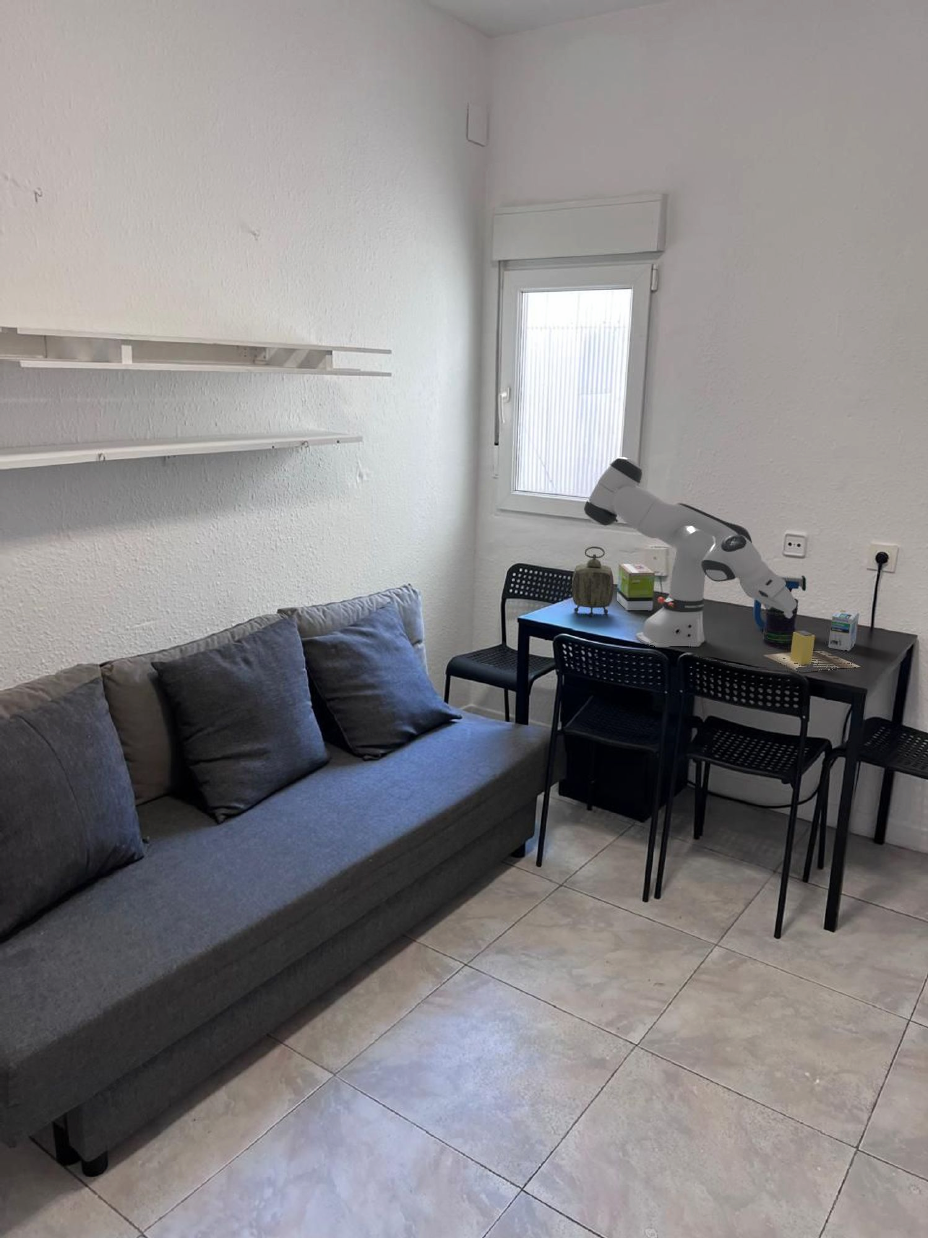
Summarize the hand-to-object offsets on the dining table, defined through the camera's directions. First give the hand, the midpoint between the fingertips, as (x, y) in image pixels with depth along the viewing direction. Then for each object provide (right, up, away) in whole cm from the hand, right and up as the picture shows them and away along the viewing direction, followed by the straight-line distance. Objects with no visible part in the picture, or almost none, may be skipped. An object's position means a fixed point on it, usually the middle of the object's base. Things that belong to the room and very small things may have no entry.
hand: (779, 611), depth 281 cm
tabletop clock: (-49, -1, +57) cm, 75 cm away
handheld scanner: (+13, -6, +43) cm, 45 cm away
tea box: (-30, +3, +72) cm, 78 cm away
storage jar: (+9, -10, +28) cm, 31 cm away
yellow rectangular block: (+9, -15, +9) cm, 20 cm away
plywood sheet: (+13, -15, +10) cm, 23 cm away
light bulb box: (+29, -11, +27) cm, 41 cm away
